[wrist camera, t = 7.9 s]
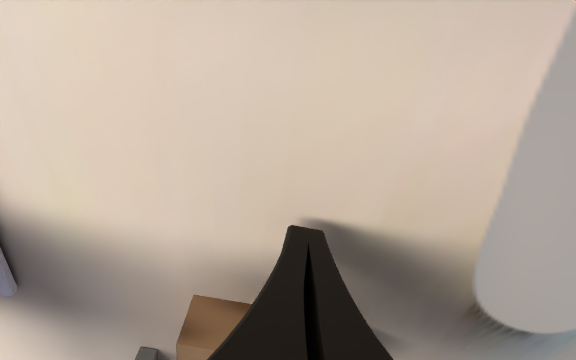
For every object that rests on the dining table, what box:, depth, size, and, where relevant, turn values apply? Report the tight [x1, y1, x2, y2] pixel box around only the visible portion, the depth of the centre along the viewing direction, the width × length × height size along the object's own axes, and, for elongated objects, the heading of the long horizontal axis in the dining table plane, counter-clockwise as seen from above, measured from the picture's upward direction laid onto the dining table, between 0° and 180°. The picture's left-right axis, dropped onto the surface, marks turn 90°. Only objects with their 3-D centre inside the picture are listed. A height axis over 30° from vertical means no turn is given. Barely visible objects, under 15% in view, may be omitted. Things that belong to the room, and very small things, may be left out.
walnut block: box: [176, 295, 252, 360], centre depth 18 cm, size 9×6×3 cm, turn 79°
